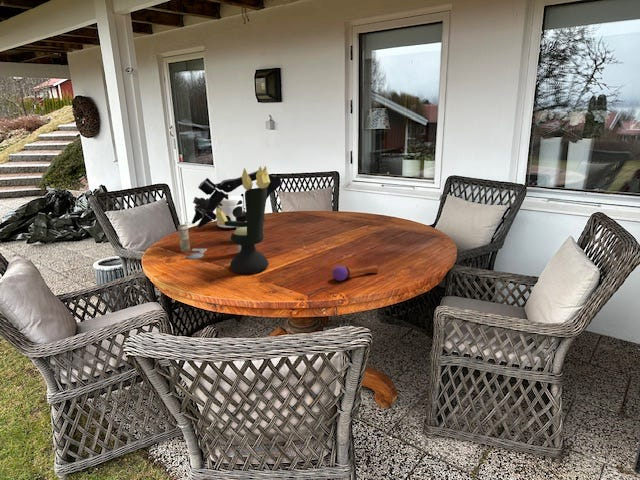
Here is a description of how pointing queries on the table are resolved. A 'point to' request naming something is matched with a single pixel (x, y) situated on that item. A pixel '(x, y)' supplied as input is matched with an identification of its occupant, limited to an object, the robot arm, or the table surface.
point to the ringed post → (184, 238)
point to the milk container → (231, 209)
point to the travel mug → (242, 219)
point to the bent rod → (200, 250)
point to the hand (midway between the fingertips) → (195, 225)
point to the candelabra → (249, 225)
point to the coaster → (195, 256)
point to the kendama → (351, 272)
